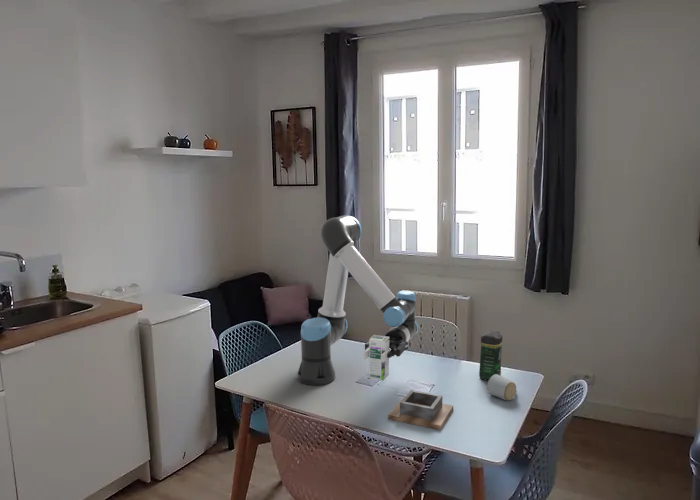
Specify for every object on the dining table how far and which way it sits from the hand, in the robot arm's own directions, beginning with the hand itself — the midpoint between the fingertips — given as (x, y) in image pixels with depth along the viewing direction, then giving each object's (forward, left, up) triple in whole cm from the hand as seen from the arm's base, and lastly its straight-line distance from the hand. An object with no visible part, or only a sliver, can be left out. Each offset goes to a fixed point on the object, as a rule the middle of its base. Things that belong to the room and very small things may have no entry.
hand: (373, 356), depth 182 cm
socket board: (+16, +4, -19) cm, 25 cm away
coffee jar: (+31, +47, -20) cm, 60 cm away
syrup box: (0, +5, -9) cm, 11 cm away
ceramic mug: (+39, +31, -20) cm, 53 cm away
